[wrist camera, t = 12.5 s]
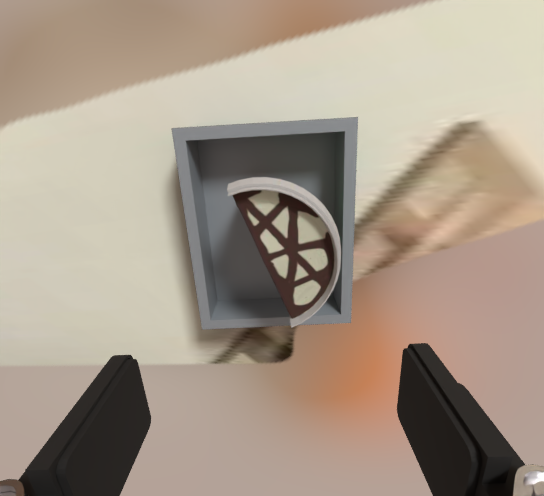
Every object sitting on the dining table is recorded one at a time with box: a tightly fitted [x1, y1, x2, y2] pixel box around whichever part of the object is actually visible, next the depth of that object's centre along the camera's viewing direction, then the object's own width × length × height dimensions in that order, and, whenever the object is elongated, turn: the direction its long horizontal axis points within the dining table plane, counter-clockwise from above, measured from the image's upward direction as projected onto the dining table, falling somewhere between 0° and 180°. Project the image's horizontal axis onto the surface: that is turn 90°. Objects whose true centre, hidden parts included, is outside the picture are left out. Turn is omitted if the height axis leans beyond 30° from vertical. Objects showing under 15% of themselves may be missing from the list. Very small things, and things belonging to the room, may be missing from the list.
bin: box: [172, 117, 358, 329], centre depth 30 cm, size 15×19×5 cm
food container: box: [227, 177, 341, 328], centre depth 26 cm, size 12×6×10 cm, turn 24°
